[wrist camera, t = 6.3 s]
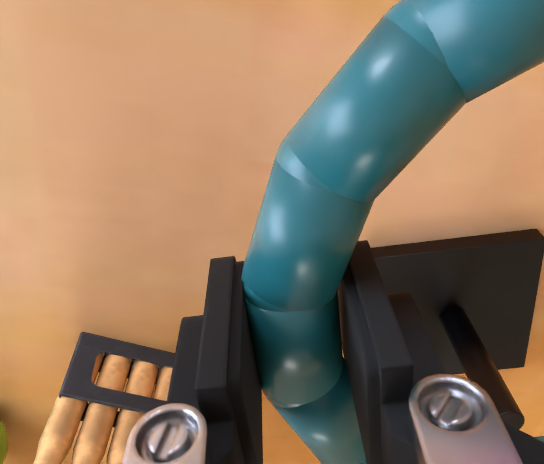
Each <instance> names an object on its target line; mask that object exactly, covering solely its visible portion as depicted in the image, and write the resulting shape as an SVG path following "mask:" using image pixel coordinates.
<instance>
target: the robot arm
mask: <svg viewBox="0 0 544 464" xmlns="http://www.w3.org/2000/svg"><path fill="white" fill-rule="evenodd" d="M243 266H244V261H240V262H236V259H235V257H234V256H231V257H223V258H214V259H211V261H210V269H209V276H208V284H207V292H206V300H205V308H204V315H200V316H191V317H184V318H183V319H182V321H181V325H180V331H179V336H178V342H177V347H176V352H175V358H174V363H173V369H172V374H171V380H170V385H169V391H168V396H167V402H166V405H163V406H159V407H157V408H155V409H153V410H151V411H149V412H148V413H147V414H145V415H144V416H143V417H142V418H140V419H139V420H138V422H137V423H136V424H135V425H134V427H133V428H132V429H131V432H130V434H129V437H128V439H127V443H126V448H125V452H124V457H123V461H122V464H263V445H262V393H261V384H260V379H259V373H258V368H257V363H256V357H255V352H254V347H253V341H252V336H251V331H250V325H249V320H248V315H247V309H246V304H245V298H244V292H243V285H242V281H241V277H242V271H243ZM338 302H339V315H340V329H341V342H342V349H343V354H344V359H345V361H346V365H347V370H348V376H349V382H350V387H351V392H352V397H353V401H354V406H355V411H356V415H357V420H358V425H359V430H360V434H361V439H362V444H363V448H364V453H365V458H366V462H367V464H544V442H542V441H540V440H538V439H536V438H534V437H532V436H530V435H528V434H526V433H524V432H522V431H520V430H518V429H516V428H514V427H512V426H510V425H508V424H506V423H504V422H503V421H502V419H501V417H500V415H499V413H498V411H497V409H496V407H495V405H494V403H493V401H492V399H491V398H490V396H489V395H488V393H487V392H486V391H485V390H484V389H483V388H482V387H480V386H479V385H478V384H477V383H475V382H473V381H471V380H469V379H467V378H465V377H461V376H457V375H453V374H446V373H445V370H444V368H443V366H442V363H441V361H440V359H439V356H438V354H437V352H436V350H435V347H434V345H433V343H432V340H431V338H430V336H429V333H428V331H427V329H426V327H425V324H424V322H423V320H422V317H421V315H420V313H419V310H418V308H417V306H416V303H415V301H414V299H413V297H412V295H411V293H410V292H399V293H390V294H387V292H386V289H385V287H384V284H383V281H382V279H381V276H380V273H379V270H378V268H377V265H376V262H375V260H374V257H373V254H372V251H371V249H370V246H369V243H368V241H367V240H365V241H357V243H356V246H355V248H354V251H353V253H352V256H351V258H350V260H349V263H348V265H347V268H346V270H345V273H344V275H343V278H342V280H341V282H340V285H339V287H338Z"/></svg>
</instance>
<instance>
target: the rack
mask: <svg viewBox="0 0 544 464" xmlns="http://www.w3.org/2000/svg"><path fill="white" fill-rule="evenodd" d="M370 249H371V251H372V254H373V257H374V260H375V262H376V265H377V268H378V270H379V273H380V276H381V279H382V281H383V284H384V287H385V289H386V292H387V294H390V293H399V292H410V293H411V295H412V297H413V299H414V301H415V303H416V306H417V308H418V310H419V313H420V315H421V317H422V320H423V322H424V324H425V327H426V329H427V331H428V333H429V336H430V338H431V340H432V343H433V345H434V347H435V350H436V352H437V354H438V356H439V359H440V361H441V363H442V366H443V368H444V370H445V373H446V374H453V375H454V374H463V373H465V374H466V376H467V378H468V379H469V380H471V381H473V382H475V383H477V384H478V385H479V386H480V387H482V388H483V389H484V390H485V391H486V392H487V393H488V395H489V396H490V398H491V399H492V401H493V403H494V405H495V407H496V409H497V411H498V413H499V415H500V417H501V419H502V421H503V422H504V423H506V424H508V425H510V426H512V427H514V428H516V429H518V430H519V429H520V428H521V427H522V426H523V424H524V416H523V414H522V413H521V411H520V409H519V407H518V405H517V404H516V402H515V400H514V398H513V397H512V395H511V393H510V391H509V389H508V388H507V386H506V384H505V382H504V380H503V379H502V377H501V375H500V373H499V371H498V370H500V369H509V368H518V367H524V364H525V359H526V353H527V347H528V341H529V335H530V330H531V324H532V318H533V312H534V306H535V301H536V295H537V289H538V283H539V277H540V272H541V266H542V260H543V254H544V236H543V235H542V234H541V233H540V232H539V231H538V230H537V229H530V230H522V231H513V232H505V233H496V234H488V235H479V236H470V237H462V238H453V239H445V240H436V241H428V242H419V243H411V244H402V245H394V246H385V247H376V248H370Z"/></svg>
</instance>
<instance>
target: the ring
mask: <svg viewBox="0 0 544 464" xmlns="http://www.w3.org/2000/svg"><path fill="white" fill-rule="evenodd" d="M543 62H544V0H401V1H400V2H398V3H397V4H395V5H394V6H393V7H392V8H391V9H390V10H389V11H388V12H387V13H386V14H385V15H384V16H383V17H382V18H381V19H380V21H379V22H378V23H377V24H376V26H375V27H374V28H373V29H372V31H371V32H370V33H369V34H368V36H367V37H366V38H365V39H364V40H363V42H362V43H361V44H360V45H359V47H358V48H357V49H356V50H355V52H354V53H353V54H352V55H351V56H350V58H349V59H348V60H347V61H346V63H345V64H344V65H343V66H342V68H341V69H340V70H339V71H338V72H337V74H336V75H335V76H334V77H333V79H332V80H331V81H330V82H329V84H328V85H327V86H326V87H325V89H324V90H323V91H322V92H321V93H320V95H319V96H318V97H317V98H316V100H315V101H314V102H313V103H312V105H311V106H310V107H309V108H308V109H307V111H306V112H305V113H304V114H303V116H302V117H301V118H300V119H299V121H298V122H297V123H296V124H295V125H294V127H293V128H292V129H291V130H290V132H289V133H288V134H287V135H286V137H285V138H284V140H283V141H282V143H281V144H280V147H279V149H278V152H277V154H276V157H275V161H274V164H273V167H272V171H271V174H270V178H269V181H268V184H267V188H266V191H265V195H264V198H263V201H262V205H261V208H260V212H259V215H258V218H257V222H256V225H255V229H254V232H253V235H252V239H251V242H250V246H249V249H248V252H247V256H246V259H245V263H244V266H243V271H242V277H241V281H242V285H243V292H244V298H245V304H246V309H247V315H248V320H249V325H250V331H251V336H252V341H253V347H254V352H255V357H256V363H257V368H258V373H259V379H260V384H261V388H262V390H263V392H264V394H265V396H266V397H267V399H268V400H269V401H270V402H271V403H272V405H273V406H274V407H275V408H276V409H277V411H278V412H279V413H280V414H281V415H282V417H283V418H284V419H285V420H286V421H287V423H288V424H289V425H290V426H291V427H292V429H293V430H294V431H295V432H296V433H297V435H298V436H299V437H300V438H301V439H302V441H303V442H304V443H305V444H306V445H307V447H308V448H309V449H310V450H311V451H312V453H313V454H314V455H315V456H316V457H317V458H318V460H319V461H320V462H321V463H322V464H367V462H366V458H365V453H364V448H363V444H362V439H361V434H360V430H359V425H358V420H357V415H356V411H355V406H354V401H353V397H352V392H351V387H350V382H349V376H348V370H347V365H346V361H345V359H344V358H343V355H342V342H341V329H340V315H339V302H338V287H339V285H340V282H341V280H342V278H343V275H344V273H345V270H346V268H347V265H348V263H349V260H350V258H351V256H352V253H353V251H354V248H355V246H356V243H357V241H358V239H359V236H360V234H361V231H362V229H363V226H364V224H365V221H366V219H367V217H368V214H369V212H370V209H371V207H372V204H373V202H374V200H375V198H376V197H377V196H378V195H379V194H380V193H381V192H382V191H383V190H384V189H385V188H386V187H387V186H388V185H389V184H390V183H391V181H392V180H393V179H394V178H395V177H396V176H397V175H398V174H399V173H400V172H401V171H402V170H403V169H404V168H405V167H406V166H407V165H408V164H409V162H410V161H411V160H412V159H413V158H414V157H415V156H416V155H417V154H418V153H419V152H420V151H421V150H422V149H423V148H424V147H425V146H426V145H427V144H428V142H429V141H430V140H431V139H432V138H433V137H434V136H435V135H436V134H437V133H438V132H439V131H440V130H441V129H442V128H443V127H444V126H445V125H446V124H447V122H448V121H449V120H450V119H451V118H452V117H453V116H454V115H455V114H456V113H457V112H458V111H459V110H460V109H461V108H462V107H463V106H464V105H465V104H466V103H467V102H469V101H471V100H473V99H475V98H477V97H479V96H481V95H482V94H484V93H486V92H488V91H490V90H492V89H494V88H496V87H498V86H499V85H501V84H503V83H505V82H507V81H509V80H511V79H513V78H514V77H516V76H518V75H520V74H522V73H524V72H526V71H528V70H530V69H531V68H533V67H535V66H537V65H539V64H541V63H543ZM534 438H536V439H538V440H540V441H542V442H544V436H540V437H534Z"/></svg>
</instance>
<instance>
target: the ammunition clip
mask: <svg viewBox="0 0 544 464" xmlns="http://www.w3.org/2000/svg"><path fill="white" fill-rule="evenodd" d="M174 358H175V354H174V353H170V352H166V351H162V350H157V349H153V348H149V347H145V346H140V345H136V344H132V343H128V342H123V341H119V340H115V339H111V338H106V337H102V336H98V335H93V334H89V333H85V332H82V333H81V334H80V336H79V339H78V342H77V345H76V348H75V351H74V353H73V356H72V359H71V362H70V365H69V368H68V370H67V373H66V376H65V379H64V382H63V385H62V387H61V390H60V392H59V395H58V397H57V400H56V402H55V404H54V407H53V409H52V412H51V414H50V416H49V419H48V421H47V424H46V426H45V428H44V431H43V433H42V436H41V438H40V441H39V444H38V449H37V454H36V458H35V461H34V463H33V464H62V461H63V460H64V458H65V457H66V455H67V453H68V451H69V450H70V448H71V445H72V442H73V440H74V437H75V434H76V431H77V429H78V426H79V423H80V421H83V423H82V425H81V428H80V431H79V434H78V437H77V440H76V443H75V446H74V449H73V456H72V464H100V462H101V460H102V458H103V456H104V454H105V451H106V447H107V444H108V440H109V437H110V434H111V430H112V427H115V429H114V433H113V436H112V440H111V444H110V447H109V451H108V455H107V464H122V461H123V457H124V452H125V448H126V443H127V439H128V437H129V434H130V432H131V429H132V428H133V427H134V425H135V424H136V423H137V422H138V420H139V419H140V418H142V417H143V416H144V415H145V414H147V413H148V412H149V411H151V410H153V409H155V408H157V407H159V406H163V405H166V402H167V396H168V391H169V385H170V380H171V374H172V369H173V363H174ZM98 372H100V373H99V376H98V379H97V382H96V385H95V384H94V382H95V379H96V377H97V374H98ZM127 378H128V382H127V386H126V389H125V392H123V390H124V386H125V383H126V380H127ZM155 384H156V386H155ZM154 386H155V391H154ZM153 391H154V395H153ZM152 395H153V398H152ZM87 401H88V402H89V404H88V402H87ZM118 408H120V411H119V412H118V411H117V410H118Z"/></svg>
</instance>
